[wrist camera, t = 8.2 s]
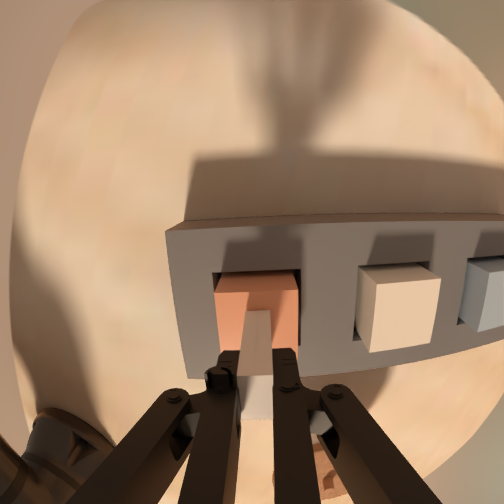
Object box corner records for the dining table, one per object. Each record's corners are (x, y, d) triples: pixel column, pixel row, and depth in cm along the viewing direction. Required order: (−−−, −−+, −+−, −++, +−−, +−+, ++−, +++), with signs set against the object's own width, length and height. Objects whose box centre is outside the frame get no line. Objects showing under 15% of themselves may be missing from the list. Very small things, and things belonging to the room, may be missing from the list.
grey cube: (448, 308, 23) (477, 332, 18) (455, 256, 22) (489, 272, 17) (484, 302, 23) (513, 322, 18) (491, 253, 22) (525, 267, 17)
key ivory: (351, 321, 23) (369, 352, 19) (354, 262, 22) (377, 284, 17) (404, 315, 23) (429, 342, 18) (410, 259, 22) (441, 278, 17)
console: (198, 347, 27) (187, 378, 23) (183, 221, 25) (165, 231, 20) (485, 318, 26) (509, 337, 21) (499, 214, 23) (530, 221, 18)
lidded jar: (289, 387, 28) (296, 457, 19) (378, 399, 29) (404, 458, 19) (260, 448, 31) (259, 509, 22) (339, 456, 31) (351, 511, 22)
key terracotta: (229, 328, 24) (221, 362, 19) (224, 269, 23) (214, 293, 18) (291, 325, 24) (297, 359, 19) (290, 266, 22) (298, 289, 18)
